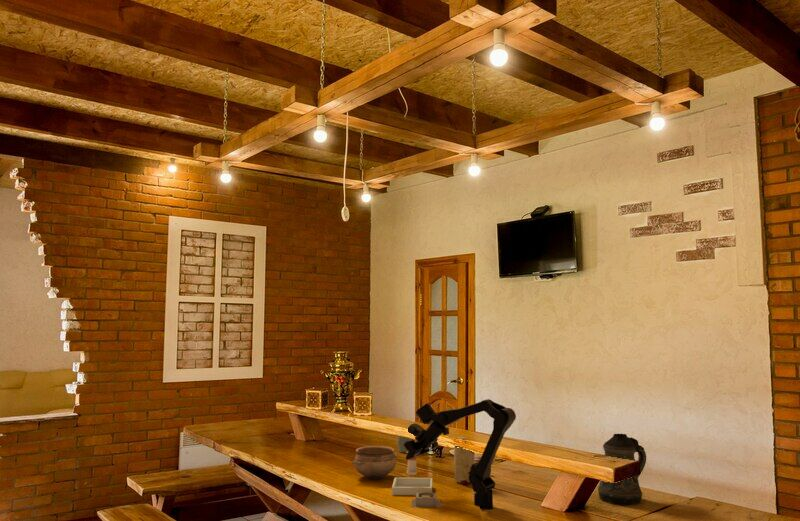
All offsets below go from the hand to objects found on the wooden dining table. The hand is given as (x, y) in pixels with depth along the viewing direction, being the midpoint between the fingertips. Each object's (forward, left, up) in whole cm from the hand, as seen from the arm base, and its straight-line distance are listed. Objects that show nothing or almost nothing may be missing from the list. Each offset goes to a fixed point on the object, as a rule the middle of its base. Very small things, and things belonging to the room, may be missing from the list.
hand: (409, 458), depth 256 cm
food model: (-23, -17, -14) cm, 32 cm away
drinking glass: (+6, -82, -14) cm, 84 cm away
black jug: (-84, +3, -14) cm, 86 cm away
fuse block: (-7, +17, -14) cm, 23 cm away
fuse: (-1, +1, -6) cm, 6 cm away
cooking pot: (+17, -25, -14) cm, 34 cm away
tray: (-1, -2, -14) cm, 14 cm away
